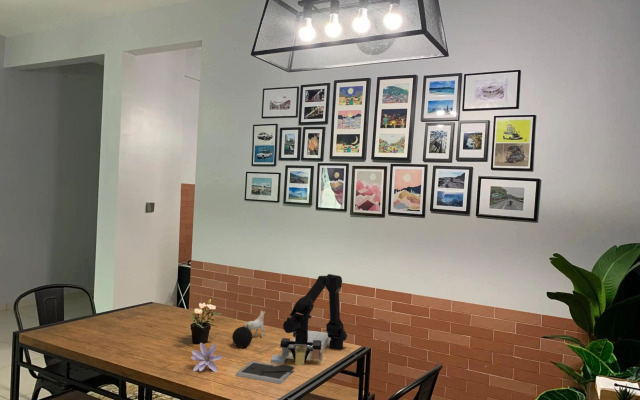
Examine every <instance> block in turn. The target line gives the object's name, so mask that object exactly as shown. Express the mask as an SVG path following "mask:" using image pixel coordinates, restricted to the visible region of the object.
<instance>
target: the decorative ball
mask: <svg viewBox="0 0 640 400" xmlns="http://www.w3.org/2000/svg"><path fill="white" fill-rule="evenodd" d="M231 339H232V343H233V344H234V345H235V346H237V347H238V348H245V347H248V346H249V345H250V344H251V343H252V341H253V332H252V330H251V331H250V329H248V328H247V327H243V326H239V327H237V328H235V329H234V331H233V333H232V338H231Z"/></svg>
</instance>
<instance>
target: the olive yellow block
mask: <svg viewBox="0 0 640 400" xmlns="http://www.w3.org/2000/svg"><path fill="white" fill-rule="evenodd" d="M304 359H305V349H297V350H296V359H295V361H294V364H295V365H298V366H305V363H304Z"/></svg>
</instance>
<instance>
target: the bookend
mask: <svg viewBox="0 0 640 400" xmlns="http://www.w3.org/2000/svg"><path fill="white" fill-rule="evenodd" d="M288 348H289V346H288V347H287V348H283V350H282V349H281V352H282V356H286V357H289V353H290V350H289V349H288Z"/></svg>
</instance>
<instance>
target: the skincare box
mask: <svg viewBox="0 0 640 400" xmlns="http://www.w3.org/2000/svg"><path fill="white" fill-rule="evenodd" d="M313 340H320V341H321V346H323V352H324V351H325V349H326V348H327V346H328V345H330V340H331V338H330V337H328V334H327V332H324V331H323V332H322V331H315V330H308V341H307V342H313ZM292 341H295V338H293V339H292Z"/></svg>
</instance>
